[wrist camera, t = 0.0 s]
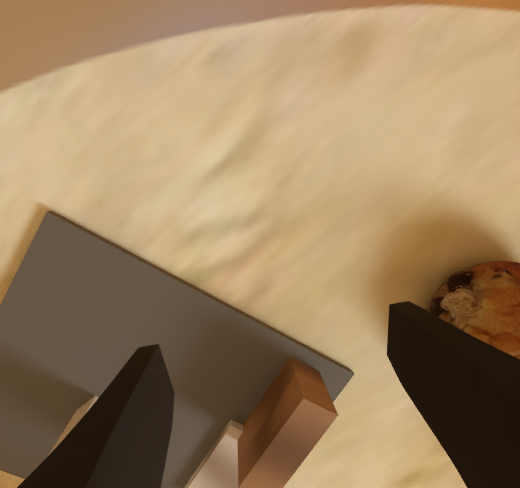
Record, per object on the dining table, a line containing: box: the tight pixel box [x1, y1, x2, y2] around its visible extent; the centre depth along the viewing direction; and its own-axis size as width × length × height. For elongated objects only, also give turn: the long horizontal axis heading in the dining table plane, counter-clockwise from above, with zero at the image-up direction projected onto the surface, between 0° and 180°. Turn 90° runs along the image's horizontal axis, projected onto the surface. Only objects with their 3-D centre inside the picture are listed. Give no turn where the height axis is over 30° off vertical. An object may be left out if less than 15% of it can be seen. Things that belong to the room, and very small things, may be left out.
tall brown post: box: [184, 357, 338, 488], centre depth 21 cm, size 13×4×4 cm, turn 149°
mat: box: [0, 211, 354, 488], centre depth 22 cm, size 18×22×1 cm
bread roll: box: [428, 261, 520, 359], centre depth 21 cm, size 10×10×8 cm
